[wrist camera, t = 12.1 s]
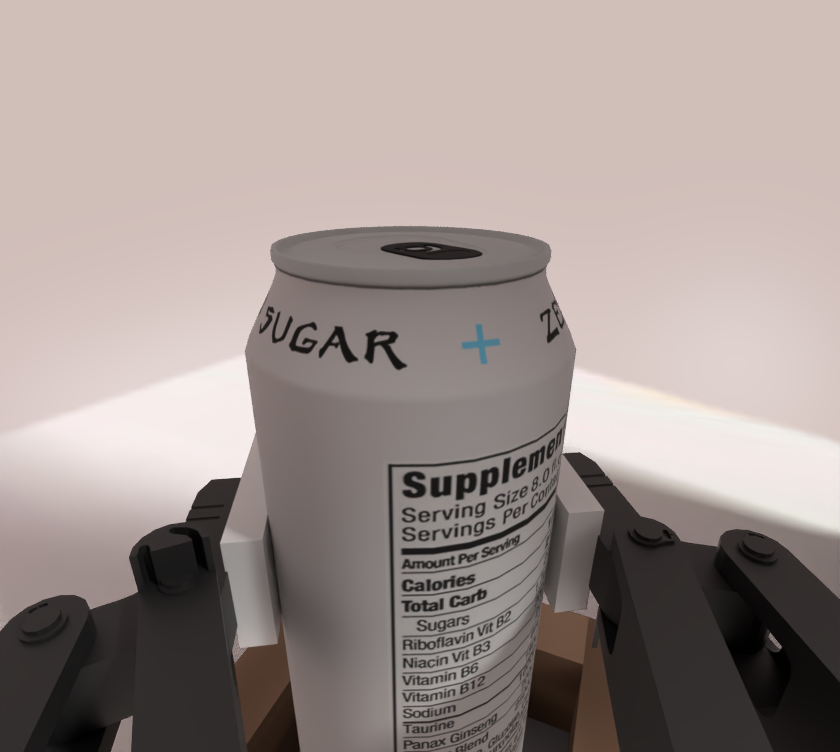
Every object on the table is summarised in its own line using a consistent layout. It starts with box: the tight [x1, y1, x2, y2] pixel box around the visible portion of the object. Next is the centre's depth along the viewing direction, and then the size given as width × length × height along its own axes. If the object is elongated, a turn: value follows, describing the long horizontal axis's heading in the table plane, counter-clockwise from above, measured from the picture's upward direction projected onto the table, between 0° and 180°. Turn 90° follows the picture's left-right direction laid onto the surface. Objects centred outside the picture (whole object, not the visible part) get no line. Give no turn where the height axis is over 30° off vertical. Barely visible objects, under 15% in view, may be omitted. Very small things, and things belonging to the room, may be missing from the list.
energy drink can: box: [245, 226, 576, 752], centre depth 12 cm, size 6×6×15 cm
